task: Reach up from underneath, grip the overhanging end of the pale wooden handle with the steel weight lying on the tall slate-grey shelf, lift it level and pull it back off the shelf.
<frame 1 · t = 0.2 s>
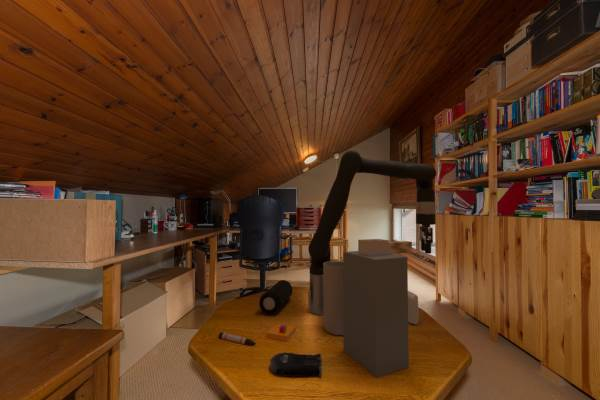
hand: (425, 252, 110), 29 cm above the table, tool pointing down, fingers open, 8 cm apart
photo printer: (405, 320, 112), on the table
cylinder vase: (339, 329, 103), on the table
tall shelf: (374, 358, 83), on the table
orange wooden platform: (281, 336, 98), on the table
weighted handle: (385, 253, 86), point 32 cm above the table, touching tall shelf
portable speaker: (277, 306, 128), on the table
electronic device: (295, 369, 77), on the table
marker: (237, 342, 93), on the table
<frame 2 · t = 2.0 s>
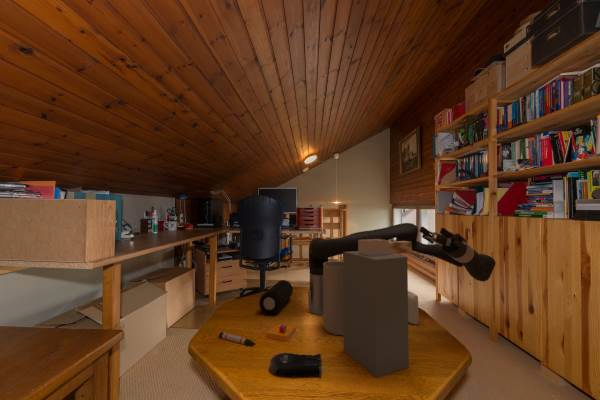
hand: (430, 229, 95), 39 cm above the table, tool pointing upward, fingers open, 8 cm apart
nothing on the table moved.
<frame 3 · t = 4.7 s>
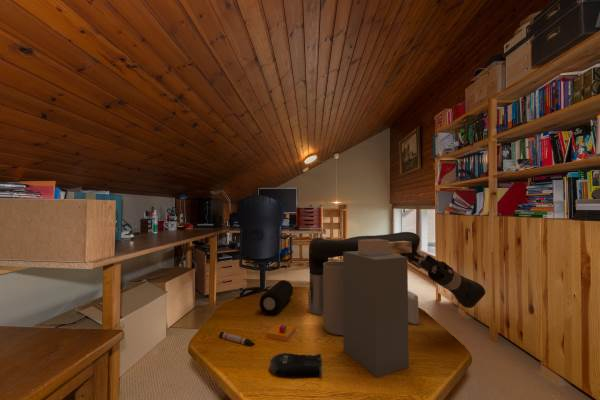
hand: (416, 255, 92), 30 cm above the table, tool pointing upward, fingers open, 8 cm apart
nothing on the table moved.
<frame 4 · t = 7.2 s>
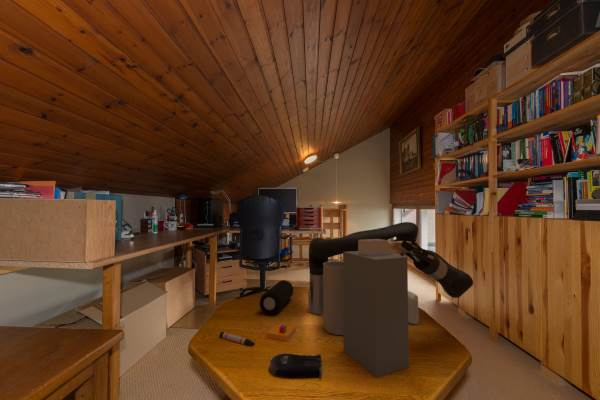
hand: (398, 242, 89), 35 cm above the table, tool pointing upward, fingers closed on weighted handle, 3 cm apart
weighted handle: (385, 253, 86), point 32 cm above the table, touching gripper, tall shelf
everything else where it was.
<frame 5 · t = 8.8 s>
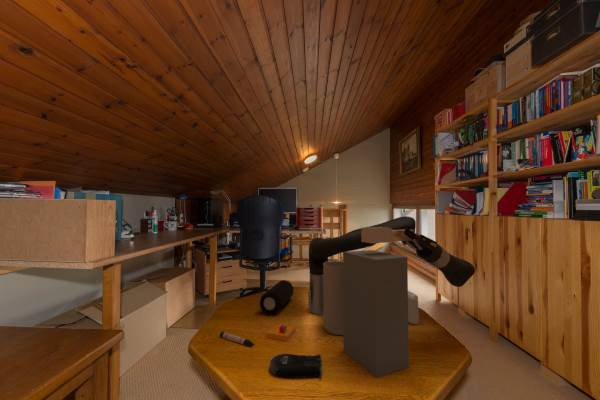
hand: (401, 230, 89), 39 cm above the table, tool pointing upward, fingers closed on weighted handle, 3 cm apart
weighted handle: (388, 241, 87), point 36 cm above the table, touching gripper
everything else where it was.
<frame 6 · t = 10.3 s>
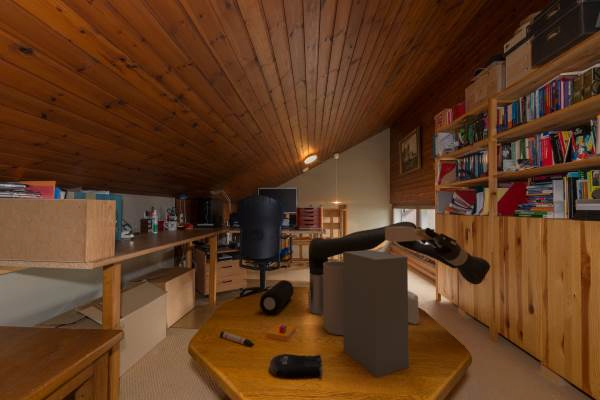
hand: (422, 229, 94), 39 cm above the table, tool pointing upward, fingers closed on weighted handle, 3 cm apart
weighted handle: (410, 239, 91), point 36 cm above the table, touching gripper
everything else where it was.
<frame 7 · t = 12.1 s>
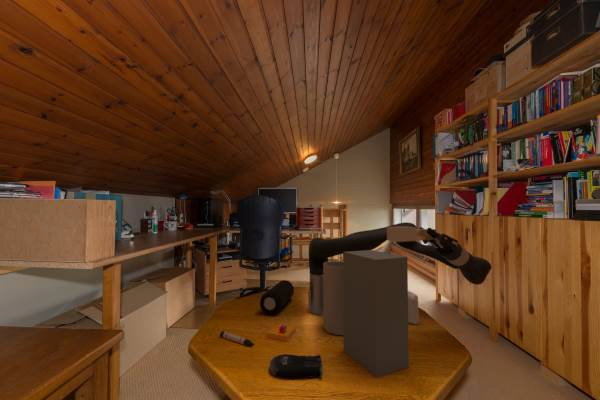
hand: (424, 229, 94), 39 cm above the table, tool pointing upward, fingers closed on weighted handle, 3 cm apart
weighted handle: (412, 239, 91), point 36 cm above the table, touching gripper
everything else where it was.
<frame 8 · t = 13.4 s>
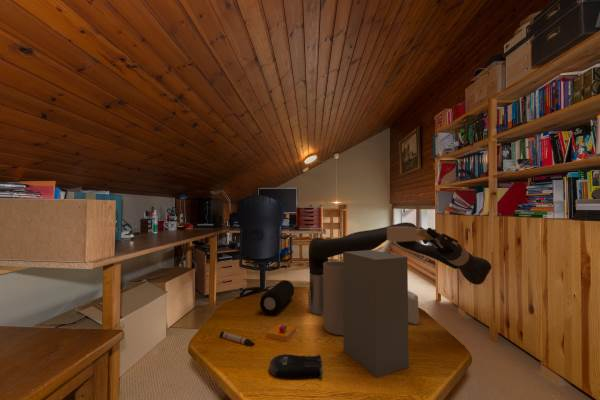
hand: (424, 229, 94), 39 cm above the table, tool pointing upward, fingers closed on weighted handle, 3 cm apart
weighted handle: (412, 239, 91), point 36 cm above the table, touching gripper
everything else where it was.
at the end: the gripper is holding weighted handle; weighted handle touching gripper; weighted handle tilted 0° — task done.
